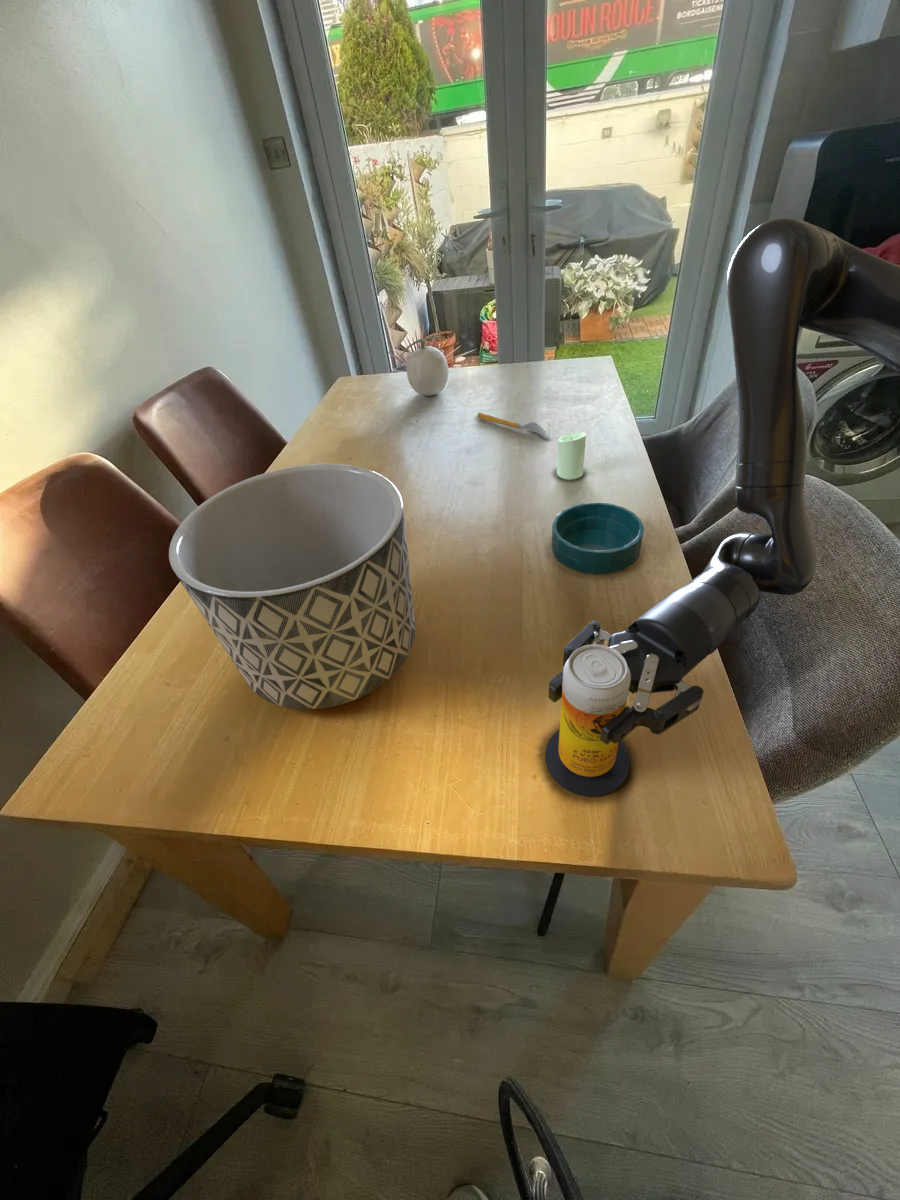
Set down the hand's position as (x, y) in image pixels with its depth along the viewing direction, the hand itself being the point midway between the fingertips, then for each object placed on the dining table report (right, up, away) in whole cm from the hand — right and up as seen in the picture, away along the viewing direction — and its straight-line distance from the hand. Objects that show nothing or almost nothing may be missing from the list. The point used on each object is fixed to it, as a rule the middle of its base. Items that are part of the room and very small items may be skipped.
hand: (577, 715), depth 53 cm
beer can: (+3, -6, +7) cm, 10 cm away
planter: (-28, +4, +23) cm, 37 cm away
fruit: (-18, +65, +90) cm, 112 cm away
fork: (+2, +50, +71) cm, 87 cm away
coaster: (+3, -6, +7) cm, 10 cm away
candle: (+11, +36, +54) cm, 65 cm away
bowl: (+11, +19, +35) cm, 41 cm away
